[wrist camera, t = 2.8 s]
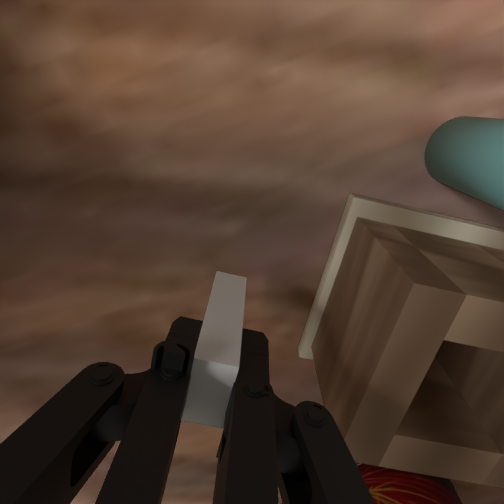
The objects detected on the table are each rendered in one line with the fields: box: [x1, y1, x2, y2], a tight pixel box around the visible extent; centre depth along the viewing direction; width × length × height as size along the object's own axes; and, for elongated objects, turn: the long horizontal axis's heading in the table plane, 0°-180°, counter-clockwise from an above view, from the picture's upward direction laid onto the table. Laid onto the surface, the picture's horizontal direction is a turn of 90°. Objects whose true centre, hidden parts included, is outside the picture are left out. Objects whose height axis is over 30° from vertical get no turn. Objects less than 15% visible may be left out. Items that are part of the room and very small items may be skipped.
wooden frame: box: [298, 193, 504, 360], centre depth 21 cm, size 18×11×6 cm, turn 77°
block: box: [311, 217, 504, 488], centre depth 19 cm, size 9×9×8 cm
